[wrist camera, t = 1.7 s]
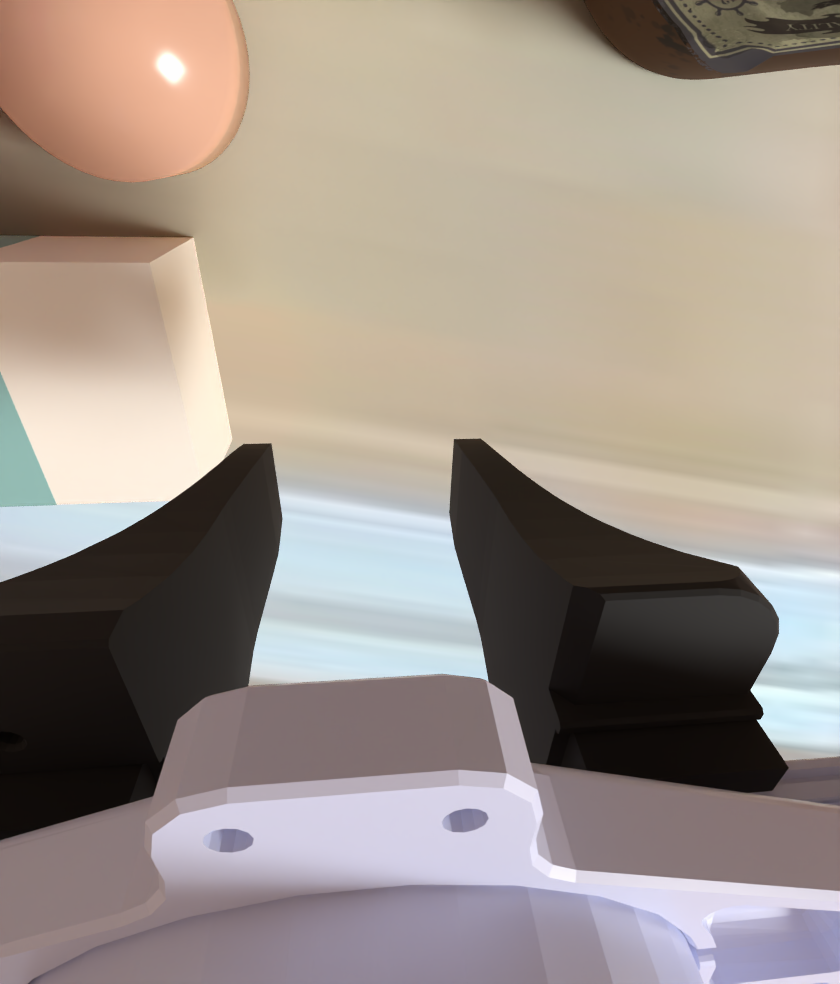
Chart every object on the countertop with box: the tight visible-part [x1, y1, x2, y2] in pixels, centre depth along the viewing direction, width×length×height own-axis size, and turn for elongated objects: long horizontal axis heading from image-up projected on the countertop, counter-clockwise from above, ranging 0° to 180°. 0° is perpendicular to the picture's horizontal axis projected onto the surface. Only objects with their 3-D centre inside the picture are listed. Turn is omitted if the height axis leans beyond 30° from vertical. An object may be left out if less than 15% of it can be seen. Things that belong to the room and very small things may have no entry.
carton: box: [0, 235, 232, 507], centre depth 18 cm, size 8×9×4 cm
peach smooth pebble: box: [0, 0, 250, 182], centre depth 14 cm, size 6×6×3 cm
